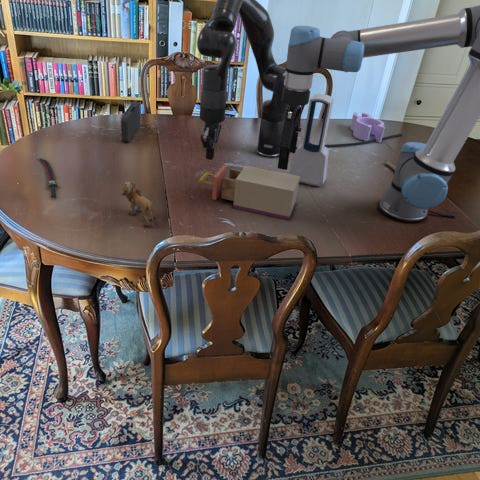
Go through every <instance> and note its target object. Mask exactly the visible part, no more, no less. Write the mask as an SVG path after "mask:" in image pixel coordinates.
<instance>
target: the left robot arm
mask: <svg viewBox="0 0 480 480" xmlns="http://www.w3.org/2000/svg"><path fill="white" fill-rule="evenodd" d="M238 17H239V19H240V21H241V24H242V27H243V30H244V33H245V36H246V39H247V40H248V43H249V46H250V48H251V52H252V54H253V57H254V59H255V63H256V67H257V71H258V76H259V78H260V82H261V84H262V86H263V88H264V89H266V90H267V91H270V92H271V93H272V95H271V99H266V100H263V102H262V105H261V114H260V123H259V131H258V138H257V139H258V140H257V149H256V153H257V154H258V155H259V156H262V157H264V158H265V157H266V158H277V157H279V153H280V148H279V147H278V144H280V140H281V135H282V130H283V125H284V120H285V112H286V109H288V106H289V105H288V104H287V103H284V102H283V101H282V94H283V88H284V87H285V86H284V80H285V77H283V74H284V73H285V72H286V67H284V66H281V65H278V63H277V62H276V60H275V57H274V54H273V51H272V49H273V48H272V47H273V44H274V39H275V29H274V26H273V23H272V19H271V17H270V14H269V12H268V11H267V9H266V8H265V7H264V6H263V5H262V4H261V3H260V2H258V0H216V2H215V4H214V7H213V11H212V14H211V17H210V18H209V19H208V21H207V22H206V23H205V25H203V27H202V28H201V30H200V31H199V34H198V37H197V39H196V48H197V51H198V53H199V54H200V55H201V56H204V57H208V58H217V59H220V63H218V64H210V65H206V66H204V67H203V69H202V74H201V75H202V76H201V77H202V78H201V91H200V101H199V119H200V120H201V121H202V122H204V126H203V127H202V128H203V129H202V130H203V134H201V135H200V140H201V144H202V147H203V149H205V159H206V160H209V161H212V160H213V159H214V158H215V148H216V146H217V144H218V142H219V137H220V134H221V130H222V124H220V123H223V122H224V121H225V119H226V110H227V109H226V108H227V84H228V73H229V69H230V65H231V62H232V59H233V57H234V54H235V52H236V48H237V39H236V36H235V34H234V33H233V32H234V30H235V28H236V24H237V21H238ZM401 136H403V134H402V133H398V134H392V135H388V136H383V137H382V140H387V139H392V138H396V137H401ZM382 140H381V141H382ZM376 141H377V140H376V139H375V138H374V139H369V140H368V141H364V140H363V141H358V142H349V143H337V144H336V143H335V144H325V145H324V147H326V148H331V147H332V148H333V147H345V146H347V147H348V146H356V145H364V144H369V143H374V142H376ZM283 144H286V143H283ZM298 147H299V146H296V150H297V148H298Z"/></svg>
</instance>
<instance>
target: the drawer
mask: <svg viewBox="0 0 480 480" xmlns="http://www.w3.org/2000/svg"><path fill="white" fill-rule="evenodd" d="M227 169H228V168H227V164H223V165H222V166H221V167H220V168H219V169H218V171H217V172H216V173H215V174H212V173H210V172H208V171H205V172H204V174H203V175H202V176H201V177H200V178H199V180H198V184H199V185H203V184H205V185H209V186H212V195H211V200H217V199H218V197H219V196H220V195H221V199H223V200H227V201H233V202H234V193H235V182H236V178H237V177H238V175H239V174H240V173H241V171H242V170H240V169H235V168H229V173H228V177H227ZM208 177H211V178H213V180H212V181H213V182H211V181H207V178H208Z"/></svg>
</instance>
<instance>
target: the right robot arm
mask: <svg viewBox="0 0 480 480" xmlns="http://www.w3.org/2000/svg"><path fill="white" fill-rule="evenodd" d="M455 45H457V46H458V47H459V48H460V49H463V48H470V49H469V51H468V54H467V57H468V60H469V64H468V67H467V68H466V69H465V70H466V71H465V72H464V74H463V76H462V77H461V79H460V81H459V83H458V85H457V87H456V88H455V90H454V92H453V94H452V95H451V97H450V100H449V102H448V103H447V105H446V107H445V109H444V111H443V112H442V115H441V116H440V118H439V120H438V122H437V123H436V126H435V127H434V129H433V131H432V133H431V134H430V137H429V139H428V141H427V142H426V143H424V142H416V141H407V142H405V143H404V144H402V147H401V150H400V151H399V156H398V160H397V163H396V166H395V167H396V170H395V171H394V173H393V177H392V180H391V182H390V183H391V184H390V186H389V187H388V188H387V190H386V192H385V193H383V196H382V197H381V198H380V201H379V204H378V208H379V210H380V211H381V213H382V214H384V215H385V216H386V217H388V218H391V219H393V220H396V221H399V222H402V223H403V222H404V223H410V224H411V223H420V222H423V221H425V220H426V218H427V216H428V213H431V214H435V215H438V216H442V217H448V218H455V217H456V215H455V214H448V213H441V212H438V211H435V210H432V209H431V208H435V207H437V206H439V205H440V204H441V203H442V202H443V201H444V200H445V199H446V197H447V195H448V190H449V187H448V183H449V182H450V181H451V178H452V176H453V175H454V173H455V171H456V165H455V160H456V158H457V157H458V155H459V153H460V151H461V150H462V149H463V147H464V145H465V143H466V141H468V140H467V139H468V138H469V136H470V135H471V133H472V131H473V129H474V128H475V126H476V124H477V122H479V119H480V5H475V6H470V7H464V8H461V9H460V10H459V12H457V13H453V14H448V15H442V16H441V15H440V16H435V17H429V18H423V19H416V20H410V21H404V22H403V21H402V22H398V23H397V22H396V23H391V24H385V25H378V26H373V27H367V28H361V29H353V30H349V31H348V30H344V29H343V30H339V31H337V32H335V33H333V34H332V35H331V37H330V38H329V37H323V36H321V30H320V29H319V28H318V27H315V26H310V25H295V26H293V28H291V30H290V35H289V41H288V45H287V54H286V63H285V68H286V72H285V73H284V74H283V77H285V80H284V86H285V87H284V88H283V94H282V101H283V102H284V103H287V104H288V106H289V107H287V109H286V112H285V120H284V125H283V130H282V135H281V140H280V144H278V147H279V148H280V153H279V156H278V162H277V169H279V170H284V171H287V170H288V167H289V160H290V154H295V152H296V150H297V149H296V147H297V146H298V145H297V144H298V138H299V133H301V132H302V127H301V122H302V121H301V119H302V112H303V109H302V107H303V106H306V105H309V103H310V98H311V97H310V96H311V89H312V85H313V79H314V70H315V68H316V69H324V70H330V71H337V72H344V73H357V72H359V71H360V70H361V67H362V63H363V59H365V58H372V57H377V56H384V55H385V56H386V55H393V54H399V53H405V52H407V53H408V52H414V51H420V50H429V49H435V48H436V49H437V48H441V47H448V46H449V47H450V46H455ZM283 143H286V144H283Z"/></svg>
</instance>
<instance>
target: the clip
mask: <svg viewBox="0 0 480 480" xmlns="http://www.w3.org/2000/svg"><path fill="white" fill-rule="evenodd" d="M358 114H359V113H358V112H353V114H352V118H351V122H350V126H349V129H350V130H351V131H353V132H352V136H353V137H354V138H356V139H358V140H361V141H363V142H364V141H369V140H370V135H372V136H374V139H376V140H377V141H375V142H376V143H382V138H383V137H384V132H385V129H386V127H385V122H384V121H383V120H380V119H377V118H374V117H372V115H371V114H369V113H366V112H361V115H358Z"/></svg>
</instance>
